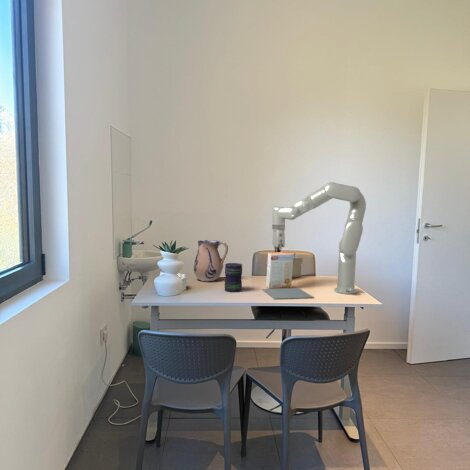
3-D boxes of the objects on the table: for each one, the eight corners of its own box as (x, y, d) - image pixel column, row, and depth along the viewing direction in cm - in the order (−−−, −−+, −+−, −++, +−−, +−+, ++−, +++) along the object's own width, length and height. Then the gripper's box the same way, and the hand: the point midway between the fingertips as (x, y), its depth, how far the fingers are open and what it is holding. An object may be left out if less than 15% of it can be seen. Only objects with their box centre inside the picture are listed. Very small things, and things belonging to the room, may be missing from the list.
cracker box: (287, 285, 248) (290, 251, 244) (291, 288, 242) (294, 254, 238) (265, 286, 244) (267, 251, 240) (268, 289, 239) (271, 254, 235)
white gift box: (185, 286, 241) (186, 272, 240) (186, 291, 228) (186, 276, 227) (167, 286, 240) (168, 272, 239) (167, 292, 227) (167, 276, 226)
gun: (283, 281, 261) (285, 258, 261) (278, 281, 263) (280, 257, 263) (301, 279, 281) (303, 257, 281) (297, 278, 283) (298, 257, 283)
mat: (313, 298, 221) (313, 297, 221) (274, 299, 216) (274, 298, 216) (298, 288, 242) (298, 287, 242) (262, 290, 237) (262, 288, 237)
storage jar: (228, 287, 241) (229, 257, 239) (244, 289, 237) (245, 258, 235) (221, 291, 231) (222, 259, 230) (238, 293, 228) (238, 261, 226)
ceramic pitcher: (194, 277, 269) (195, 239, 266) (227, 277, 270) (227, 239, 267) (192, 282, 251) (193, 242, 249) (227, 283, 252) (228, 242, 250)
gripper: (288, 228, 237) (287, 260, 239) (280, 226, 251) (279, 256, 253) (276, 228, 235) (275, 260, 237) (268, 226, 250) (267, 256, 251)
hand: (277, 258), depth 245 cm, fingers closed
